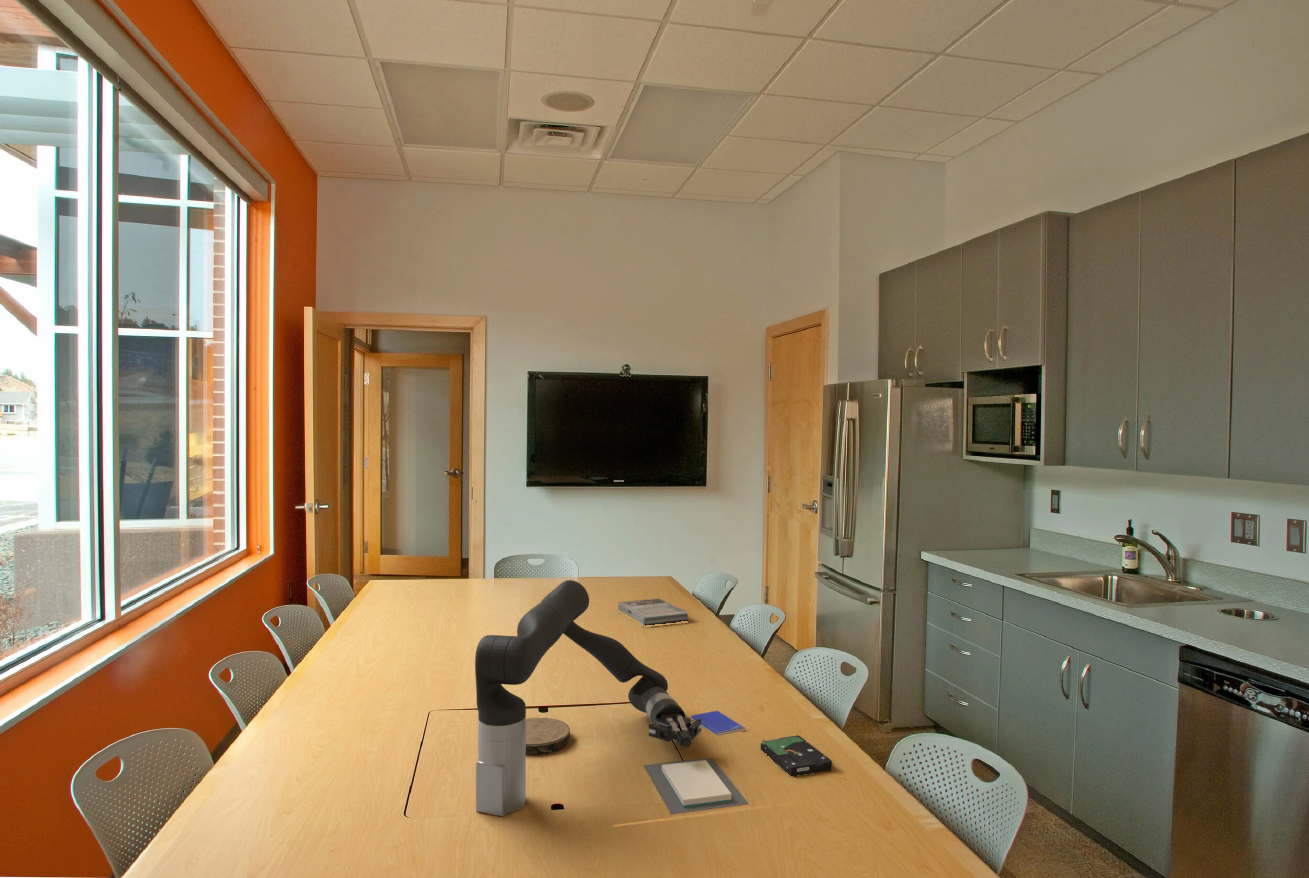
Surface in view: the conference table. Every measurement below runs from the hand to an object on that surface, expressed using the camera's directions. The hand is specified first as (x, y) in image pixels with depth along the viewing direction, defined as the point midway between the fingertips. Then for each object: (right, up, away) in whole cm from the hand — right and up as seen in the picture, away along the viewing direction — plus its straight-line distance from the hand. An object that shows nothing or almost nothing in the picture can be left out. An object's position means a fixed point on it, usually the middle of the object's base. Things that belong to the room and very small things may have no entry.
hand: (686, 743), depth 166 cm
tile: (-1, -6, +2) cm, 6 cm away
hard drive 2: (+9, -7, +28) cm, 31 cm away
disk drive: (+25, -8, +8) cm, 27 cm away
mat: (+1, -7, -4) cm, 8 cm away
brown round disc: (-35, -7, +18) cm, 40 cm away
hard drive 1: (-8, -5, +137) cm, 137 cm away
